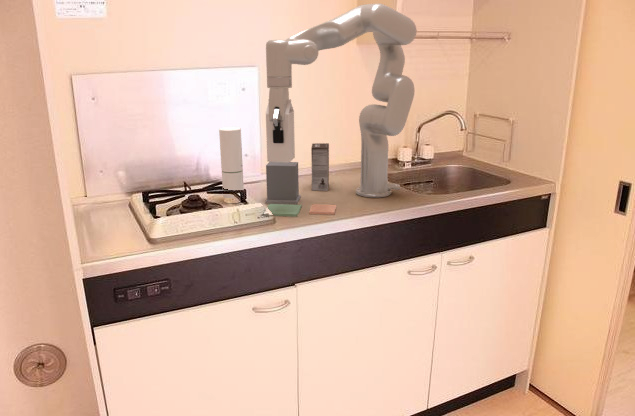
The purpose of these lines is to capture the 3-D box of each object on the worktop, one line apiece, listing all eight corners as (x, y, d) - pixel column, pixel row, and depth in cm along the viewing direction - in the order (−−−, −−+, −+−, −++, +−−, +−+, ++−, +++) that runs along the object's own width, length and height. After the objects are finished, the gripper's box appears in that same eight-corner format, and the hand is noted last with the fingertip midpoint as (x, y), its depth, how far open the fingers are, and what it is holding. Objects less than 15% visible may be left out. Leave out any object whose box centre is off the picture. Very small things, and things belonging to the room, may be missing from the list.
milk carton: (289, 163, 165) (288, 100, 159) (267, 162, 166) (265, 100, 160) (294, 158, 171) (293, 98, 166) (273, 157, 173) (271, 97, 167)
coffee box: (312, 184, 206) (311, 143, 201) (328, 184, 206) (328, 143, 201) (311, 190, 197) (311, 147, 192) (328, 190, 197) (328, 147, 192)
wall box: (300, 197, 189) (300, 161, 185) (297, 204, 181) (296, 166, 177) (269, 196, 190) (268, 160, 186) (265, 203, 182) (263, 166, 178)
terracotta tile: (336, 207, 178) (336, 204, 177) (334, 214, 170) (334, 212, 170) (312, 206, 179) (312, 204, 178) (309, 214, 171) (309, 211, 171)
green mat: (301, 207, 178) (301, 204, 178) (297, 216, 169) (297, 214, 168) (269, 206, 179) (269, 203, 179) (262, 215, 170) (262, 213, 169)
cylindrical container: (246, 197, 188) (242, 127, 181) (241, 203, 182) (237, 130, 174) (226, 197, 189) (222, 127, 182) (221, 203, 182) (216, 130, 175)
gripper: (272, 80, 170) (274, 135, 175) (261, 84, 154) (263, 145, 159) (296, 80, 169) (296, 136, 175) (286, 85, 153) (288, 146, 158)
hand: (280, 140), depth 167 cm, fingers closed on milk carton, 7 cm apart
